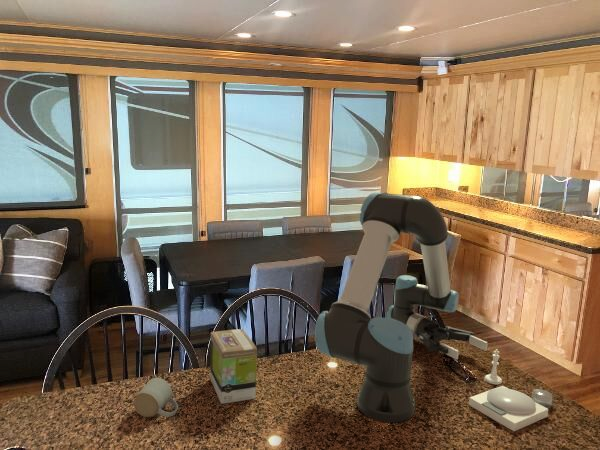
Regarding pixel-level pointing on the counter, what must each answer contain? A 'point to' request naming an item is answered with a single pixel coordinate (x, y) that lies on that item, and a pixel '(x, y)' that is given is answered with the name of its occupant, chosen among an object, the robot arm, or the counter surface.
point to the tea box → (233, 365)
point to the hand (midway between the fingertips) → (472, 350)
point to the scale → (508, 407)
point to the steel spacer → (542, 397)
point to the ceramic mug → (154, 399)
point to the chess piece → (494, 370)
